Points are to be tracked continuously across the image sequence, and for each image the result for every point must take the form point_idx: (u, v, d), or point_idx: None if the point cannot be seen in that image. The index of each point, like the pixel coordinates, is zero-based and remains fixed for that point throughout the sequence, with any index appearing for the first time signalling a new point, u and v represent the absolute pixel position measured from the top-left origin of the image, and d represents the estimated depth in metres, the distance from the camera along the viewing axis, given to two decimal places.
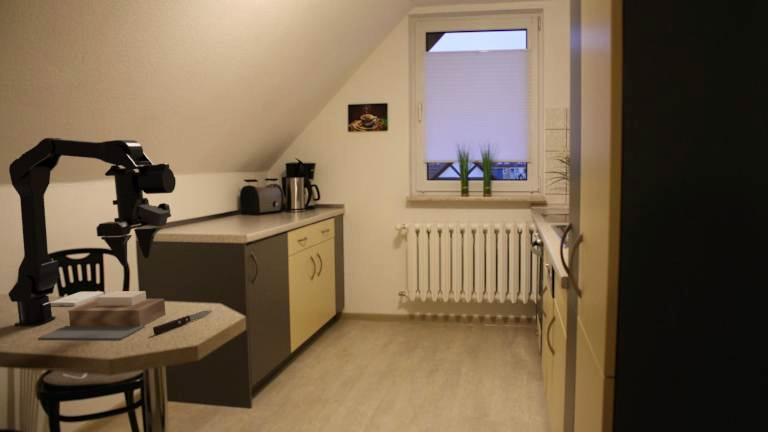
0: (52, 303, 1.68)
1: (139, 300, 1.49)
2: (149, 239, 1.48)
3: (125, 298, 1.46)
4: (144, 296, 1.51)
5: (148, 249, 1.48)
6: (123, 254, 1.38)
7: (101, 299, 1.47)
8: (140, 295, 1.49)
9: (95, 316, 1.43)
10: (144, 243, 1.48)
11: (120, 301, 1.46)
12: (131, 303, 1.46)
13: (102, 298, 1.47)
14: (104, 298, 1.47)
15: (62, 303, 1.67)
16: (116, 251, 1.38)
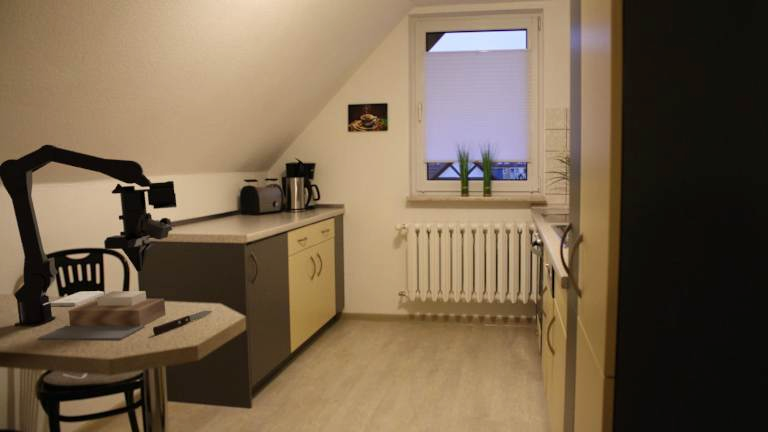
0: (52, 303, 1.68)
1: (139, 300, 1.49)
2: (142, 253, 1.57)
3: (125, 298, 1.46)
4: (144, 296, 1.51)
5: (141, 263, 1.57)
6: (138, 261, 1.56)
7: (101, 299, 1.47)
8: (140, 295, 1.49)
9: (95, 316, 1.43)
10: None
11: (120, 301, 1.46)
12: (131, 303, 1.46)
13: (102, 298, 1.47)
14: (104, 298, 1.47)
15: (63, 303, 1.67)
16: (132, 259, 1.56)
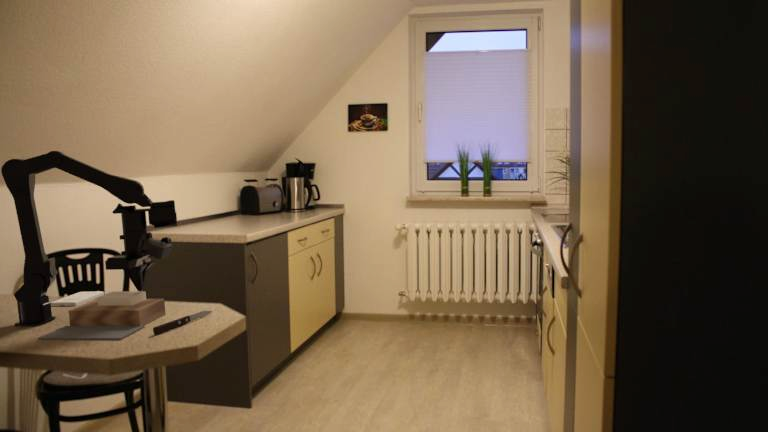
0: (53, 303, 1.68)
1: (139, 300, 1.49)
2: (143, 273, 1.57)
3: (125, 298, 1.46)
4: (144, 296, 1.51)
5: None
6: (139, 281, 1.56)
7: (101, 299, 1.47)
8: (140, 295, 1.49)
9: (95, 316, 1.43)
10: None
11: (120, 301, 1.46)
12: (131, 303, 1.46)
13: (102, 298, 1.47)
14: (104, 298, 1.47)
15: (63, 303, 1.67)
16: (133, 278, 1.56)
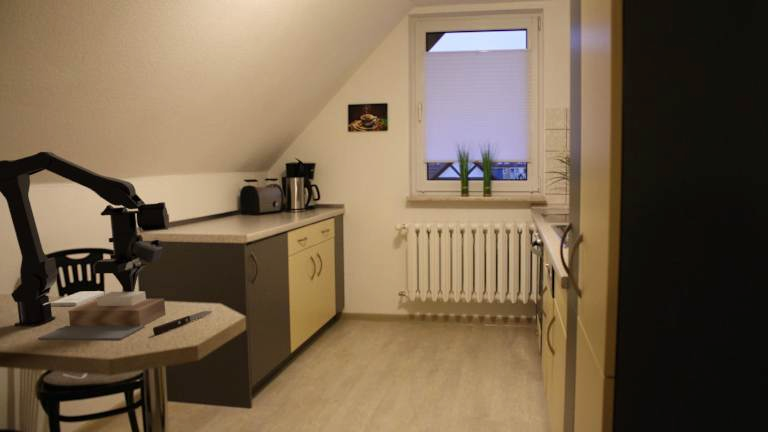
0: (53, 303, 1.68)
1: (139, 300, 1.49)
2: (133, 276, 1.53)
3: (125, 298, 1.46)
4: (144, 296, 1.51)
5: (132, 286, 1.53)
6: (129, 285, 1.52)
7: (101, 300, 1.47)
8: (140, 295, 1.49)
9: (95, 316, 1.43)
10: None
11: (120, 301, 1.46)
12: (131, 303, 1.46)
13: (102, 298, 1.47)
14: (104, 298, 1.47)
15: (63, 303, 1.67)
16: (123, 282, 1.52)
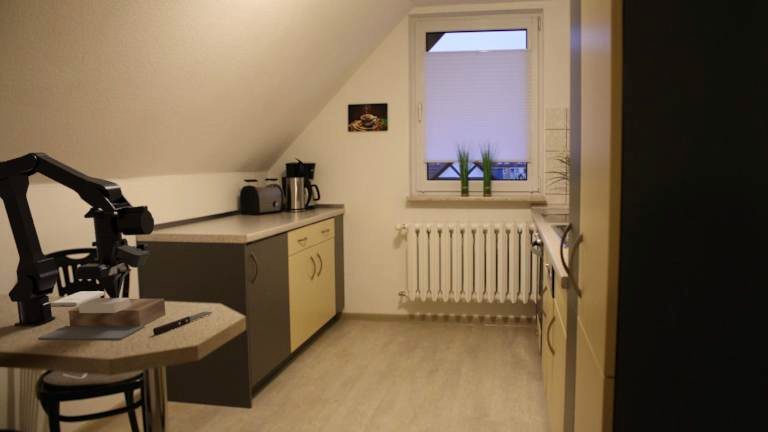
0: (54, 303, 1.68)
1: (123, 307, 1.43)
2: (118, 282, 1.47)
3: (108, 305, 1.40)
4: (128, 303, 1.45)
5: None
6: (114, 291, 1.45)
7: (83, 306, 1.41)
8: (124, 302, 1.43)
9: (95, 316, 1.43)
10: None
11: (102, 308, 1.40)
12: (114, 310, 1.40)
13: (84, 305, 1.41)
14: (86, 305, 1.41)
15: (64, 303, 1.67)
16: (107, 288, 1.45)
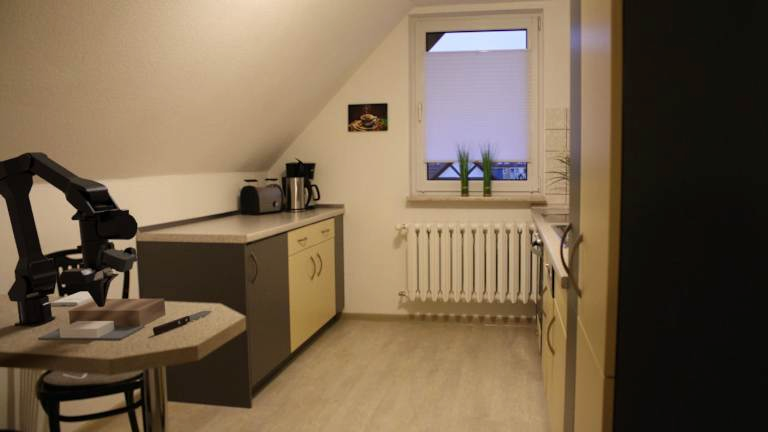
0: (54, 303, 1.68)
1: (105, 326, 1.36)
2: (104, 287, 1.42)
3: None
4: (98, 331, 1.34)
5: (103, 297, 1.42)
6: (100, 296, 1.40)
7: None
8: (103, 332, 1.35)
9: (95, 316, 1.43)
10: None
11: None
12: None
13: None
14: None
15: (64, 303, 1.67)
16: (93, 293, 1.40)
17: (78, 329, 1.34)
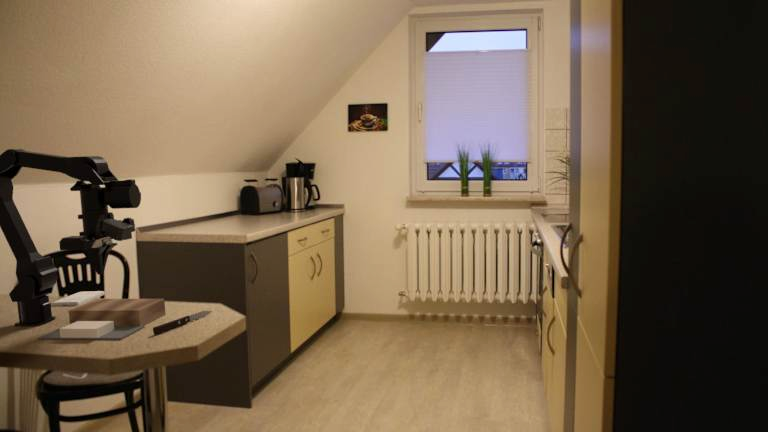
0: (55, 303, 1.68)
1: (105, 326, 1.36)
2: (103, 255, 1.48)
3: None
4: (98, 331, 1.34)
5: (102, 265, 1.48)
6: (98, 264, 1.47)
7: None
8: (103, 332, 1.35)
9: (95, 316, 1.43)
10: None
11: None
12: None
13: None
14: None
15: (65, 303, 1.67)
16: (92, 261, 1.47)
17: (78, 329, 1.34)
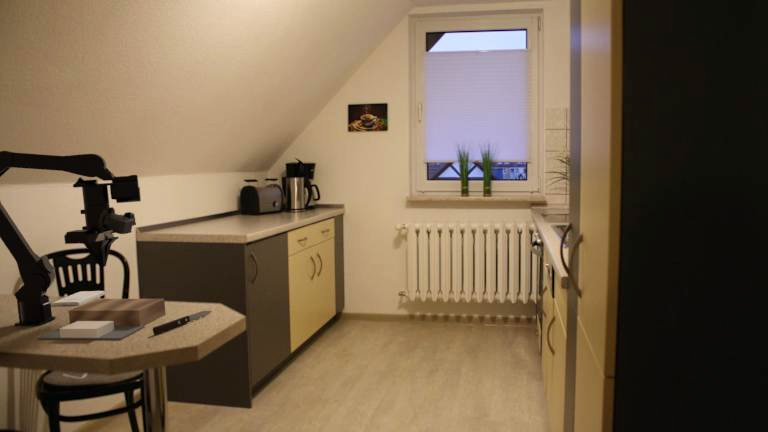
0: (55, 303, 1.68)
1: (105, 326, 1.36)
2: (105, 248, 1.54)
3: None
4: (98, 331, 1.34)
5: (104, 258, 1.54)
6: (101, 257, 1.53)
7: None
8: (103, 332, 1.35)
9: (95, 316, 1.43)
10: None
11: None
12: None
13: None
14: None
15: (66, 303, 1.67)
16: (95, 254, 1.53)
17: (78, 329, 1.34)
